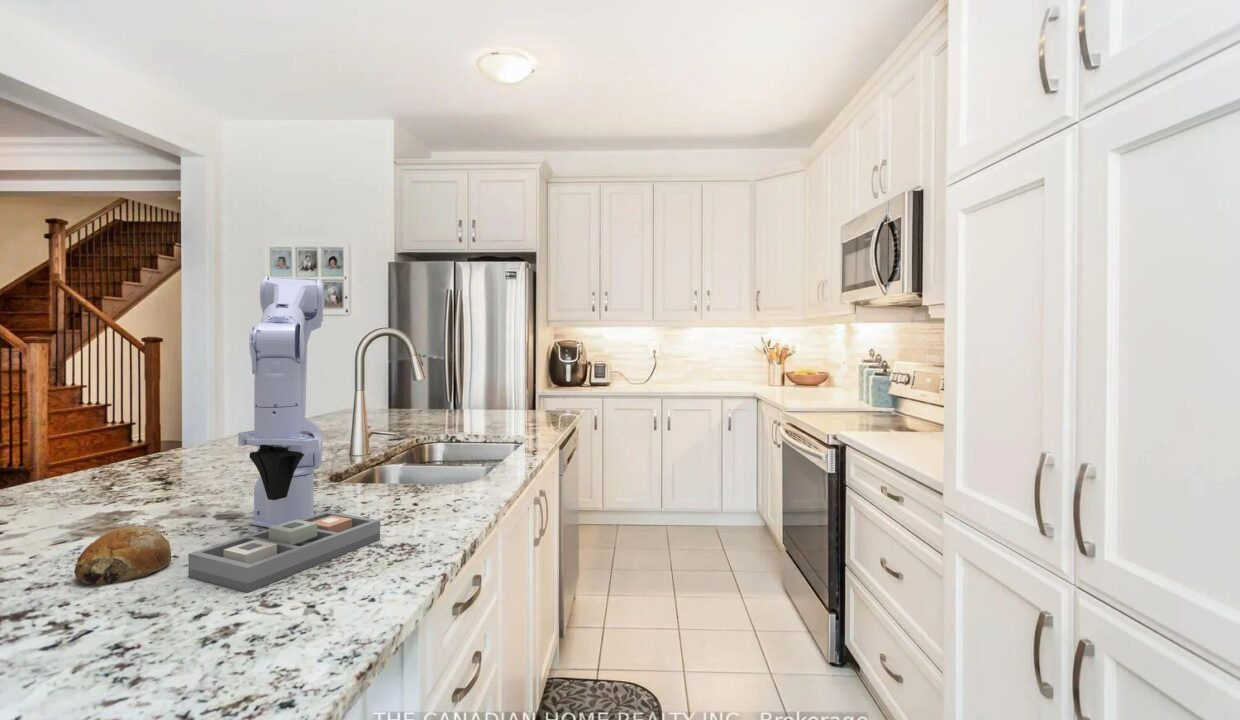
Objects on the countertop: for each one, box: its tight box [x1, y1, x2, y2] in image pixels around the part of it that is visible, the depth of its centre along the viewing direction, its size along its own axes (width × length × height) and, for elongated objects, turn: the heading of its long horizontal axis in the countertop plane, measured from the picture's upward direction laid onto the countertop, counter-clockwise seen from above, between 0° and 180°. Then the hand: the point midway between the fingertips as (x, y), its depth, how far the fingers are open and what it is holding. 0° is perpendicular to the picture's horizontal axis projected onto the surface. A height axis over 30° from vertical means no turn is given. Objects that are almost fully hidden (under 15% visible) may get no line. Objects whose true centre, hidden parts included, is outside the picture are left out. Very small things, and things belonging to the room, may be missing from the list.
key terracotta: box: [313, 515, 352, 533], centre depth 90 cm, size 4×4×2 cm
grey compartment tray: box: [187, 510, 381, 593], centre depth 84 cm, size 12×22×3 cm, turn 158°
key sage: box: [268, 519, 317, 545], centre depth 84 cm, size 4×4×2 cm
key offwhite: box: [223, 540, 277, 564], centre depth 78 cm, size 4×4×2 cm
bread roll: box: [73, 525, 172, 586], centre depth 78 cm, size 10×10×8 cm
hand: (277, 498), depth 82 cm, fingers closed
